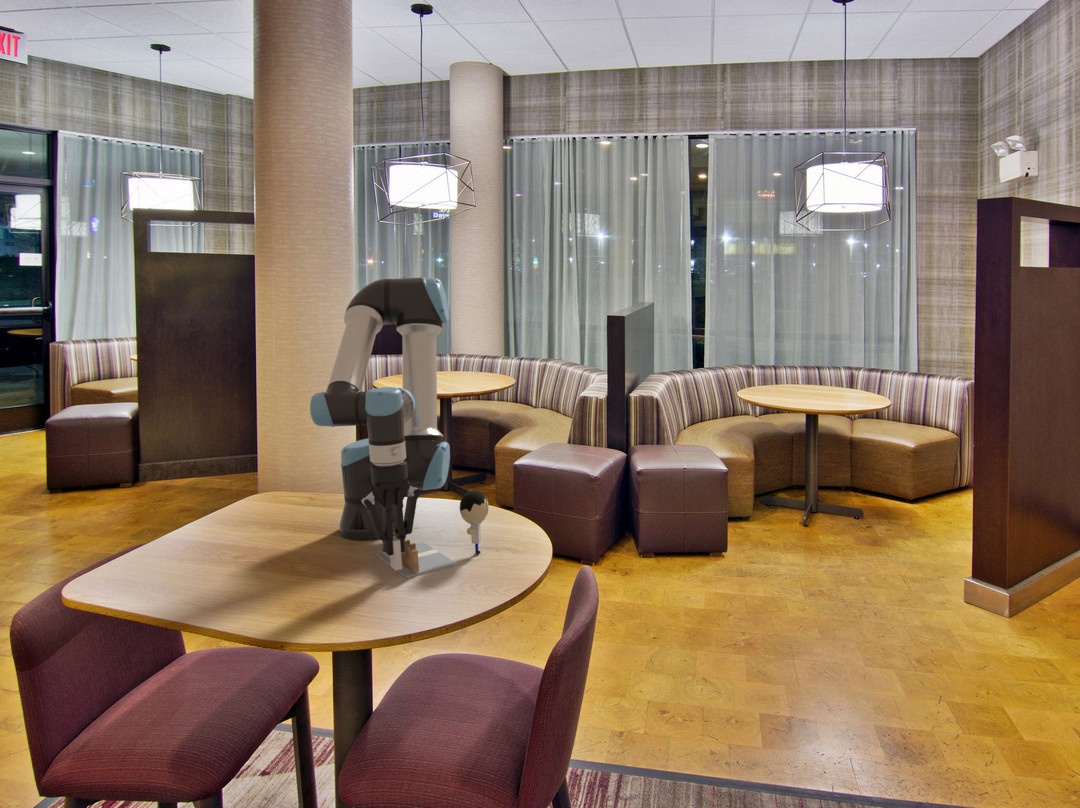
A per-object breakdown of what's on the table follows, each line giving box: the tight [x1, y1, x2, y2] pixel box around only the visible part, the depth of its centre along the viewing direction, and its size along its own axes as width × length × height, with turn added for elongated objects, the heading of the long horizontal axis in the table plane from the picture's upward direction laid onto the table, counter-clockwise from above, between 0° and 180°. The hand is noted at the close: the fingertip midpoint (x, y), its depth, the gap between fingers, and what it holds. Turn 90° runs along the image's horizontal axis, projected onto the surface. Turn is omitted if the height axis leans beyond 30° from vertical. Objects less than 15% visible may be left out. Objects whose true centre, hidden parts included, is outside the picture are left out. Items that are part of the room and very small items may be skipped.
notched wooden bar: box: [401, 538, 419, 573], centre depth 168 cm, size 8×1×6 cm, turn 34°
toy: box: [459, 490, 490, 555], centre depth 175 cm, size 9×7×15 cm
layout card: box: [376, 541, 457, 579], centre depth 174 cm, size 17×12×1 cm
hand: (396, 567), depth 165 cm, fingers closed
